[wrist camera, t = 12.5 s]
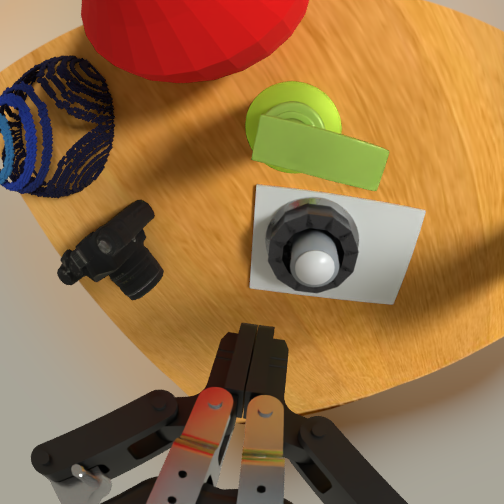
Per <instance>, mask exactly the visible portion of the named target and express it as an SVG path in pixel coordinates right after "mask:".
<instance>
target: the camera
mask: <svg viewBox="0 0 504 504" xmlns="http://www.w3.org/2000/svg"><path fill="white" fill-rule="evenodd" d="M154 216H155V215H154V212H153V210H152V208H151V207H150V205H149V204H148V203H146V202H145V201H143V200H136V201H135V202H134V203H132V204H130V205H129V206H128V207H126V208H125V209H124V210H123V211H121V212H120V213H119V214H117V215H116V216H115V217H114V218H112V219H111V220H110V221H109V222H107V223H106V224H105V225H104V226H101V227H99V228H98V229H97V230H96V231H95V232H92V233H90V234H89V235H88V236H86V237H85V238H84V239H83V240H82V241H81V242H80V243H79V244H78V245H76V249H75V250H73V251H72V250H67V251H66V252H65V253H64V254H63V256H62V258H61V262H62V265H61V266H60V268H59V269H58V272H57V274H58V277H59V279H60V280H61V281H62V282H63V283H64V284H66V285H73V284H74V283H75V282H77V281H78V280H80V279H81V278H82V277H84V276H88V277H89V278H91V279H92V280H93V281H94V282H99V281H100V280H101V279H103V278H105V277H106V276H108V275H109V276H110V279H111V280H112V281H113V282H114V283H115V284H116V285H117V286H119V287H120V289H121V290H122V292H123V293H124V294H125V295H127V296H128V297H129V298H130V299H131V300H136V299H139V298H141V297H143V296H144V295H145V294H147V293H148V292H149V291H150V290H151V289H153V288H154V287H155V286H156V285H157V283H158V282H159V281H160V280H161V278H162V276H163V272H164V270H163V269H162V268H161V266H160V265H159V263H158V262H157V260H156V259H155V258H154V257H153V256H152V254H151V253H150V252H149V250H148V249H147V248H146V247H145V246H144V240H145V239H146V235H145V233H144V230H143V228H144V227H145V226H146V225H147V223H149V222H150V221H151V220H152V219H153V218H154Z"/></svg>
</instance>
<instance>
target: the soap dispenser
mask: <svg viewBox="0 0 504 504" xmlns="http://www.w3.org/2000/svg"><path fill="white" fill-rule="evenodd" d="M245 130H246V136H247V140H248V142H249V145H250V147H251V149H252V150H253V154H252V159H251V160H254V161H258V162H262V163H265V164H266V165H268V166H269V167H271V168H273V169H276V170H278V171H281V172H286V173H304V174H308V175H311V176H315V177H319V178H323V179H326V180H330V181H334V182H338V183H342V184H346V185H350V186H354V187H359V188H363V189H367V190H371V191H377V189H378V186H379V183H380V180H381V177H382V174H383V171H384V168H385V165H386V162H387V159H388V155H389V151H388V150H386V149H384V148H382V147H379V146H377V145H374V144H371V143H368V142H365V141H362V140H359V139H355V138H352V137H349V136H346V135H343V134H341V130H342V127H341V119H340V116H339V113H338V110H337V108H336V106H335V105H334V103H333V102H332V100H331V99H330V98H329V97H328V96H327V95H326V94H325V93H324V92H322V91H321V90H319V89H318V88H316V87H314V86H312V85H309V84H306V83H302V82H295V81H289V82H282V83H278V84H275V85H272V86H270V87H268V88H266V89H265V90H264V91H262V92H261V93H260V94H259V95H258V96H257V97H256V98H255V99H254V101H253V102H252V104H251V105H250V107H249V110H248V112H247V116H246V122H245Z"/></svg>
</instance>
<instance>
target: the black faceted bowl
mask: <svg viewBox="0 0 504 504" xmlns="http://www.w3.org/2000/svg"><path fill="white" fill-rule="evenodd" d="M308 228H314V229H322V230H327V231H329V232H330V233H331V234H333V236H334V239H335V244H336V249H337V255H338V260H339V271H338V274H337V275H336V277H335V278H334V279H333V280H332V281H331V282H330V283H328V284H326V285H324V286H320V287H308V286H305V285H302V284H301V283H299V282H298V281H297V280H295V278H294V277H293V275H292V273H291V269H290V263H291V251H292V240H293V237H294V235H295V233H297V232H300V231H303V230H305V229H308ZM265 244H266V250H267V254H268V263H269V265H270V266H271V268H272V270H273V272H274V274H275V276H276V278H277V279H278V280H279V281H281V282H282V283H284V284H285V285H287V286H289V287H290V288H292V289H293V290H295V291H301V292H309V293H320V292H323V291H327V290H330V289H333V288H336V287H338V286H339V285H341V284H342V283H343V282H344V281H345V280H346V279H347V278H348V277H349V276H350V275H351V274H352V273H353V272H354V268H355V264H356V261H357V257H358V253H359V251H358V246H359V233H358V229H357V226H356V224H355V221H354V219H353V218H352V216H351V215H350V214H349V212H348V211H347V210H346V209H345V208H343V207H342V206H341V205H339V204H338V203H336V202H334V201H332V200H329V199H326V198H321V197H305V198H300V199H296V200H294V201H291V202H289V203H287V204H286V205H284V206H283V207H282V208H280V209H279V210H278V211H277V212H276V213H275V214H274V216H273V217H272V219H271V221H270V223H269V225H268V228H267V231H266V237H265Z"/></svg>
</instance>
